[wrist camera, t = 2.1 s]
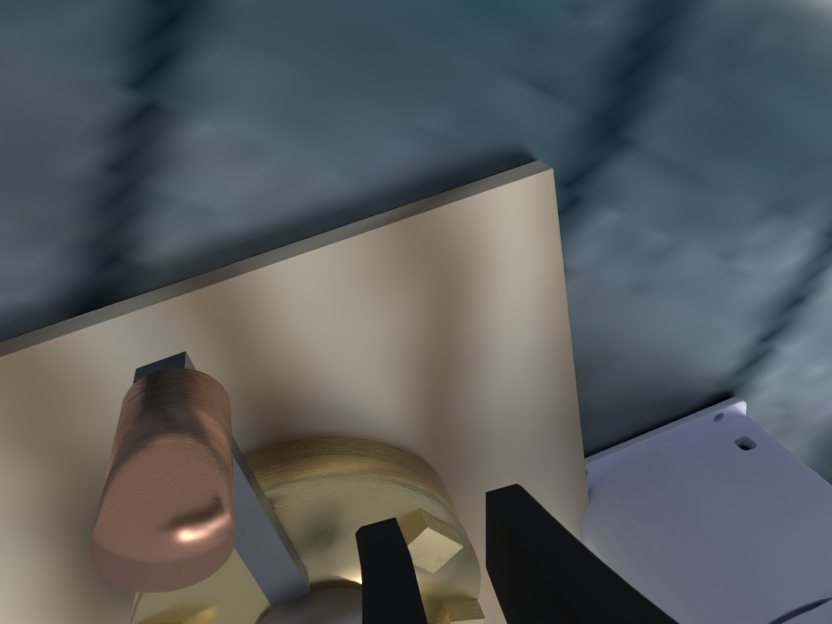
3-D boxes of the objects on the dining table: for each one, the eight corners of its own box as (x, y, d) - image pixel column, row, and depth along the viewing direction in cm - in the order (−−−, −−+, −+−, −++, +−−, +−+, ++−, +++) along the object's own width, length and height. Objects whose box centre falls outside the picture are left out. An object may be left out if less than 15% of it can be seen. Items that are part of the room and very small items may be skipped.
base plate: (538, 160, 19) (655, 225, 14) (589, 585, 32) (661, 701, 27) (-283, 437, 16) (-516, 650, 11) (138, 785, 29) (121, 959, 24)
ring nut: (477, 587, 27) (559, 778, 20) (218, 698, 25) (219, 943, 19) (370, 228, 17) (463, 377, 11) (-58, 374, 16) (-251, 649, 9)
